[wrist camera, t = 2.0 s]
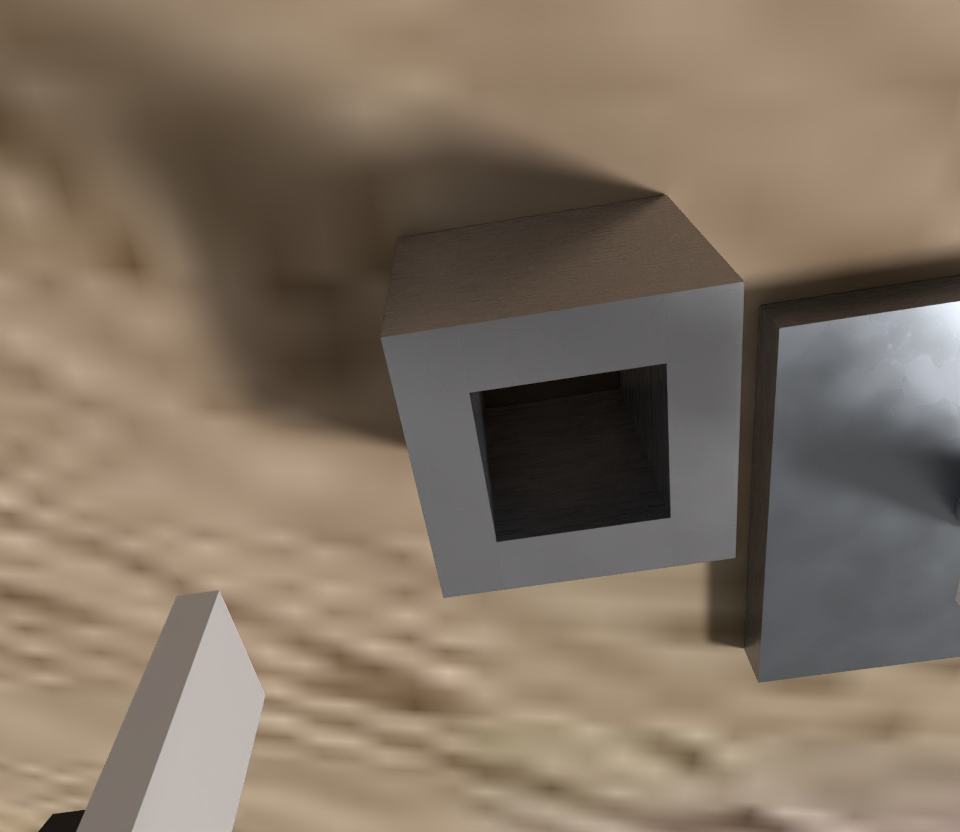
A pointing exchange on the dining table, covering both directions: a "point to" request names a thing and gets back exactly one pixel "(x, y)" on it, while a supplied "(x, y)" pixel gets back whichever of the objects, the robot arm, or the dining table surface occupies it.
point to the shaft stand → (856, 482)
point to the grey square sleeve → (573, 419)
